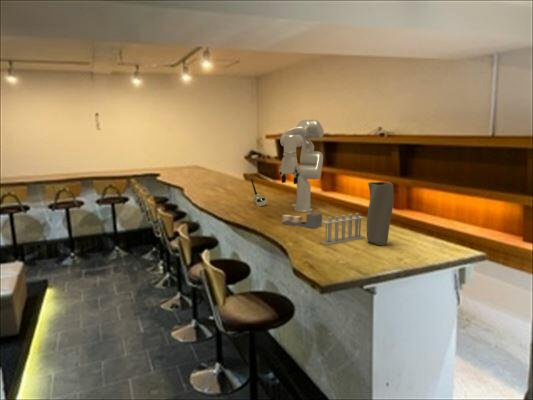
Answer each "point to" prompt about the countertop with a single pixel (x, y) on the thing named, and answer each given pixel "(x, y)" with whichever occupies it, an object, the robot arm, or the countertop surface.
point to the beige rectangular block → (292, 219)
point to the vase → (379, 212)
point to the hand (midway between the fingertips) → (289, 183)
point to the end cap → (314, 220)
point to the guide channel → (295, 224)
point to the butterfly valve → (258, 197)
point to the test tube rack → (336, 221)
